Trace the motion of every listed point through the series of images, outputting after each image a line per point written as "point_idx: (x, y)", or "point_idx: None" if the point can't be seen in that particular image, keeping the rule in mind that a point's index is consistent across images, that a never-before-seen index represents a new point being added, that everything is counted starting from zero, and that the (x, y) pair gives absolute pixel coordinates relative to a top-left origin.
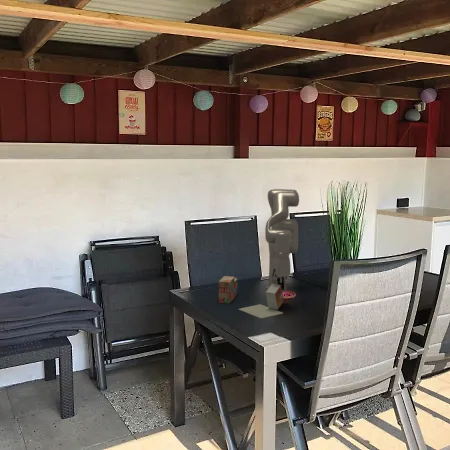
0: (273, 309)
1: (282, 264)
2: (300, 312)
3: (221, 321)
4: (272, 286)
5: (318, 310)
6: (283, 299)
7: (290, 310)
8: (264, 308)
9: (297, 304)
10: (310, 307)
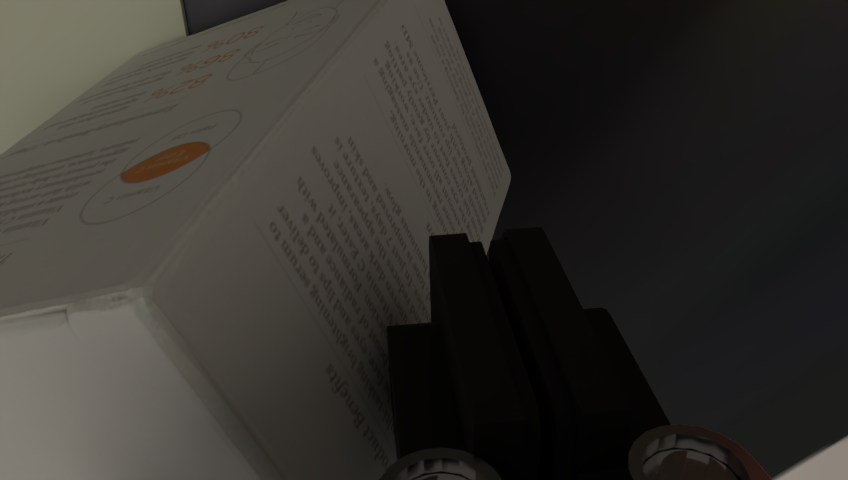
0: None
1: None
2: None
3: None
4: (51, 423)
5: (781, 462)
6: (499, 204)
7: None
8: (43, 15)
9: (835, 117)
10: (830, 333)
